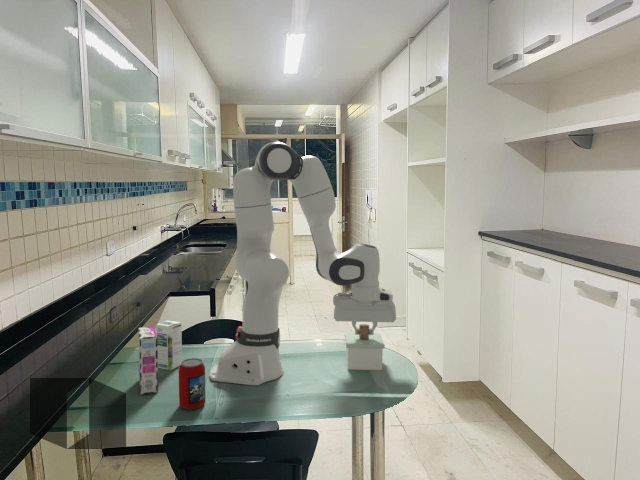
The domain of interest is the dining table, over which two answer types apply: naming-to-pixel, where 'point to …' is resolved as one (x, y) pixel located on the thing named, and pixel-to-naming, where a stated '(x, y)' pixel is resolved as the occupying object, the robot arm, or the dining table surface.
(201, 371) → the beverage can
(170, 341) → the syrup box
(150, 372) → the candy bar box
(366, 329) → the lid
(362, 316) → the robot arm
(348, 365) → the tub
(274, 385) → the dining table surface
